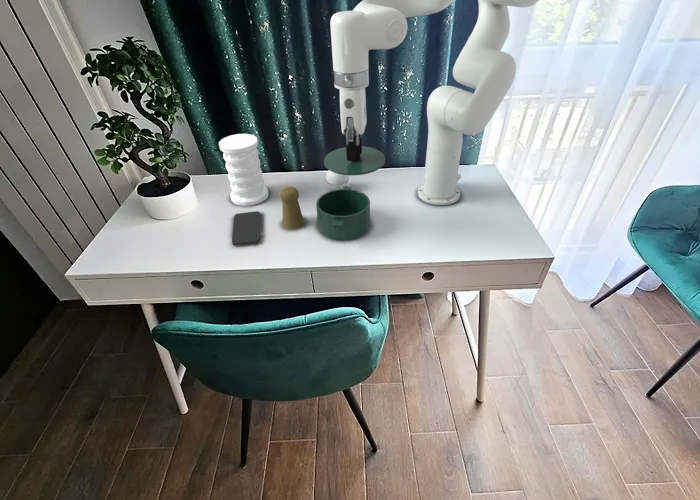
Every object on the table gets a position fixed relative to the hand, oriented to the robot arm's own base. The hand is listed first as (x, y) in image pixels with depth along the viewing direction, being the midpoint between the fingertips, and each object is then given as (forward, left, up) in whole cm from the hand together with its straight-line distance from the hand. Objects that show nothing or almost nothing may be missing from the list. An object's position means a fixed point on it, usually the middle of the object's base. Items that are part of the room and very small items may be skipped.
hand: (354, 156), depth 98 cm
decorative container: (+8, -37, -21) cm, 43 cm away
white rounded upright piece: (-11, -17, -21) cm, 29 cm away
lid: (0, 0, -1) cm, 1 cm away
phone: (+20, -23, -21) cm, 37 cm away
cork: (+10, -15, -21) cm, 28 cm away
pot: (+2, -3, -21) cm, 21 cm away
